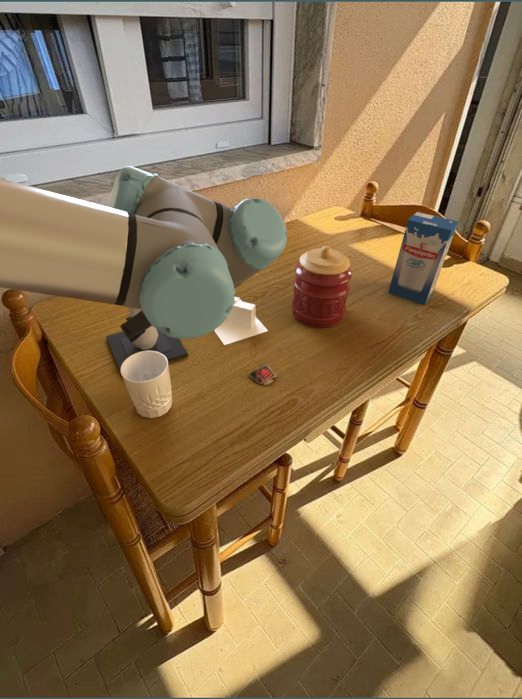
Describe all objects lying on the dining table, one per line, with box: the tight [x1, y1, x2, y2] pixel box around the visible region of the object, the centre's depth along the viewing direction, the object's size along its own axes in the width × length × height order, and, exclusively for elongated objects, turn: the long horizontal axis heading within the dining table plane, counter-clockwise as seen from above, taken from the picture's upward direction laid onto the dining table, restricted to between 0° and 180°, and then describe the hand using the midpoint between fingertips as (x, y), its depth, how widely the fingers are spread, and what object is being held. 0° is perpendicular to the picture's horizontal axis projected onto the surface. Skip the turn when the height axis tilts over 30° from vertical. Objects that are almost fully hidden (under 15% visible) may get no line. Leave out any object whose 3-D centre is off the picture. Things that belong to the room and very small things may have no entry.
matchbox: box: [249, 364, 277, 386], centre depth 77 cm, size 5×5×1 cm
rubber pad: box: [105, 329, 189, 374], centre depth 83 cm, size 14×14×1 cm
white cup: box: [120, 351, 173, 419], centre depth 68 cm, size 8×8×10 cm
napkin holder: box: [213, 296, 269, 346], centre depth 89 cm, size 15×11×6 cm
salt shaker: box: [127, 307, 158, 350], centre depth 79 cm, size 6×6×13 cm
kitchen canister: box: [291, 245, 353, 328], centre depth 88 cm, size 13×13×18 cm
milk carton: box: [387, 211, 459, 306], centre depth 95 cm, size 10×6×20 cm, turn 54°
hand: (159, 318), depth 72 cm, fingers open, 13 cm apart
